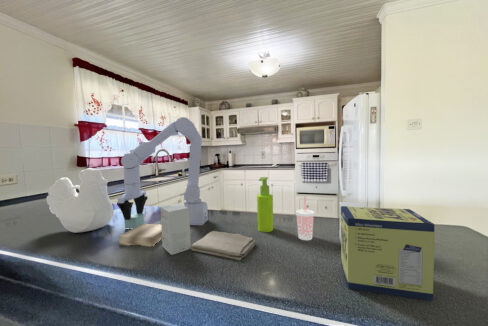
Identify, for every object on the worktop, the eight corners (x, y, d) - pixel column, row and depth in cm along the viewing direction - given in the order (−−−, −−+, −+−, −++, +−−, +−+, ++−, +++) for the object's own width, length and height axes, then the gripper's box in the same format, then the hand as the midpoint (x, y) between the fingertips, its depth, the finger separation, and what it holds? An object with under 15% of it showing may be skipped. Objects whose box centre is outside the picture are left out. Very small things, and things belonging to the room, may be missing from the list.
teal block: (144, 225, 89) (143, 213, 89) (136, 230, 84) (135, 217, 84) (133, 225, 90) (132, 213, 90) (124, 229, 85) (124, 217, 85)
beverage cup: (317, 237, 73) (317, 196, 73) (309, 242, 69) (309, 199, 68) (301, 232, 77) (300, 194, 77) (292, 238, 73) (292, 197, 72)
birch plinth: (171, 232, 81) (170, 224, 80) (152, 246, 69) (152, 237, 69) (142, 231, 82) (141, 223, 82) (119, 245, 71) (118, 236, 70)
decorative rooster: (123, 224, 92) (120, 166, 91) (88, 238, 77) (84, 169, 75) (79, 220, 98) (75, 166, 97) (38, 233, 83) (33, 169, 82)
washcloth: (242, 262, 58) (242, 251, 58) (188, 252, 65) (188, 242, 65) (257, 245, 69) (257, 235, 69) (209, 237, 76) (209, 229, 76)
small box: (191, 249, 66) (189, 207, 66) (171, 255, 62) (169, 211, 62) (180, 241, 73) (179, 203, 72) (161, 246, 69) (159, 206, 68)
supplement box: (363, 240, 69) (364, 202, 69) (368, 251, 62) (369, 208, 62) (338, 238, 72) (338, 201, 71) (341, 248, 65) (341, 206, 64)
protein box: (339, 264, 56) (339, 205, 55) (410, 272, 51) (411, 208, 50) (346, 289, 46) (346, 217, 45) (435, 302, 41) (437, 223, 40)
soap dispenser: (254, 232, 79) (253, 178, 78) (260, 225, 86) (259, 176, 84) (270, 234, 77) (269, 178, 76) (274, 227, 83) (274, 176, 82)
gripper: (135, 180, 94) (136, 211, 95) (109, 186, 80) (111, 222, 81) (149, 181, 93) (151, 211, 94) (126, 186, 79) (128, 222, 79)
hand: (133, 216), depth 87 cm, fingers open, 7 cm apart
